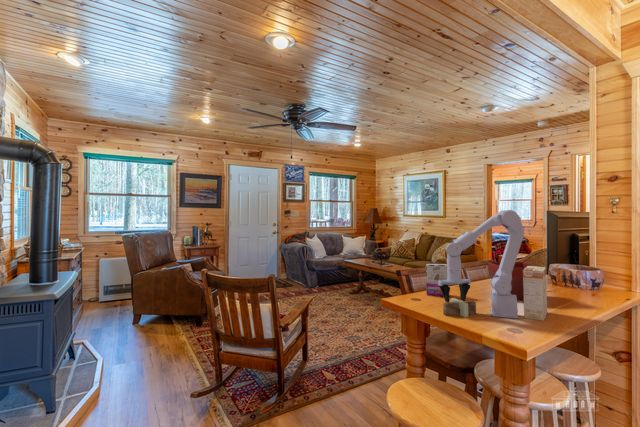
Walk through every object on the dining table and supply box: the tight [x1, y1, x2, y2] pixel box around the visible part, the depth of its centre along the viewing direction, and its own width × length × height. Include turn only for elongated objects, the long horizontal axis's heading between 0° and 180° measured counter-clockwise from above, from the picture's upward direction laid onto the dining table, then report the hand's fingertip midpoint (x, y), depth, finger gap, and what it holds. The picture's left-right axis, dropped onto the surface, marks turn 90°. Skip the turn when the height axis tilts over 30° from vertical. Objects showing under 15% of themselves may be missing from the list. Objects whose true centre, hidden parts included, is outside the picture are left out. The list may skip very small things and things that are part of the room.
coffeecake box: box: [523, 265, 548, 322], centre depth 137 cm, size 15×7×20 cm, turn 141°
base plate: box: [442, 300, 477, 317], centre depth 140 cm, size 14×2×5 cm, turn 100°
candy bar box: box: [425, 263, 447, 297], centre depth 175 cm, size 11×5×16 cm, turn 73°
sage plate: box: [450, 297, 469, 318], centre depth 140 cm, size 10×2×6 cm, turn 11°
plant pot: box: [487, 261, 542, 301], centre depth 167 cm, size 19×19×17 cm
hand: (455, 301), depth 143 cm, fingers open, 7 cm apart
